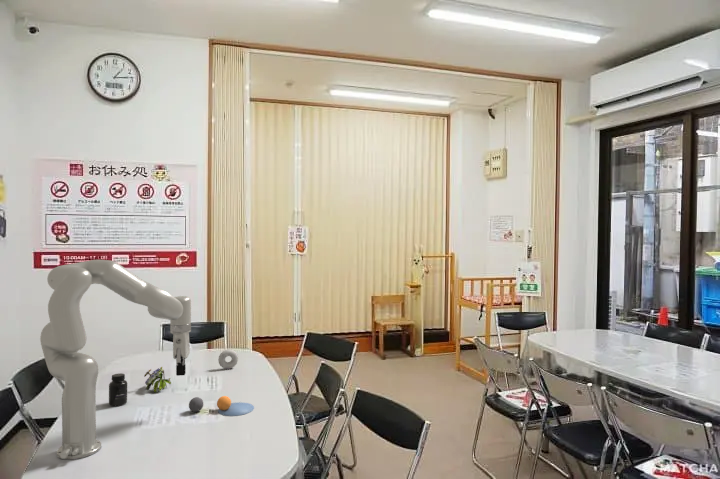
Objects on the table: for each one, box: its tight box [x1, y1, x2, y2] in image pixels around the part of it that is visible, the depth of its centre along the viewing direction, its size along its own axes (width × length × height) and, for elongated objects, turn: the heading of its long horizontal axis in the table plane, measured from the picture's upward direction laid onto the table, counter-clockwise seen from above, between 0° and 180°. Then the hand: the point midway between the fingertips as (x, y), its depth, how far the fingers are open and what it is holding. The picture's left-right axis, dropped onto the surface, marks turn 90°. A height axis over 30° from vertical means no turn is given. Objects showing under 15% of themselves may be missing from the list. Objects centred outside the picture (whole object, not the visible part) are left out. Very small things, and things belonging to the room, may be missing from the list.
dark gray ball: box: [188, 396, 204, 413], centre depth 192 cm, size 6×6×6 cm
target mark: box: [217, 401, 255, 417], centre depth 195 cm, size 14×14×1 cm
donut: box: [218, 348, 239, 370], centre depth 250 cm, size 10×4×10 cm, turn 112°
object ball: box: [216, 395, 232, 411], centre depth 194 cm, size 6×6×6 cm
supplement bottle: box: [108, 373, 128, 407], centre depth 200 cm, size 7×7×12 cm
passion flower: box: [144, 366, 172, 394], centre depth 219 cm, size 11×11×12 cm
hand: (180, 374), depth 191 cm, fingers closed
